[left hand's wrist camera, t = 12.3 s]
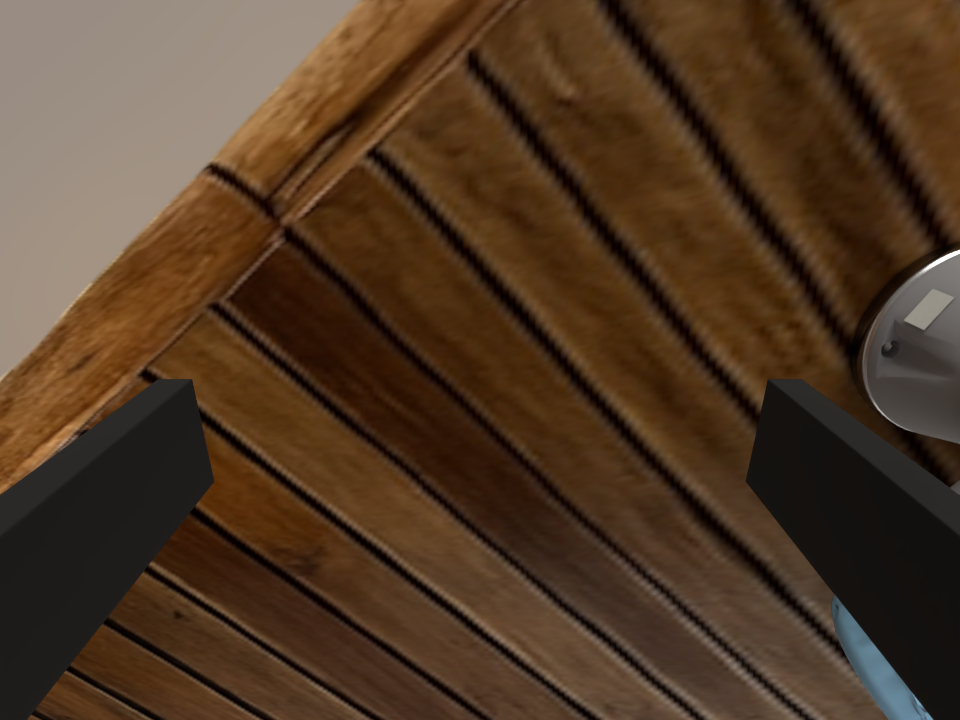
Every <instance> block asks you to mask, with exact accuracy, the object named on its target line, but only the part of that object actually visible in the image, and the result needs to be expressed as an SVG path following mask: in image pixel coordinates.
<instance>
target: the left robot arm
mask: <svg viewBox="0 0 960 720" xmlns="http://www.w3.org/2000/svg"><path fill="white" fill-rule="evenodd" d="M852 371H853V376H854V381H855V383H856V386H857V389H858V390H859V392H860V394H861V396H862V397H863V399H864V400H865V401H866V402H867V403H868V405H869V406H870V407H872V408H873V409H874V410H875V411H876V412H878V413H879V414H881V415H882V416H884V417H885V418H887V419H888V420H890V421H891V422H893V423H894V424H896V425H897V426H900V427H902V428H904V429H906V430H909V431H912V432H915V433H919V434H922V435H927V436H930V437H934V438H938V439H942V440H946V441H950V442H954V443H958V444H960V242H958V243H954V244H951V245H948V246H945V247H943V248H940V249H938V250H935V251H933V252H931V253H929V254H927V255H925V256H923V257H922V258H920V259H918V260H917V261H915V262H914V263H912V264H911V265H909V266H908V267H906V268H905V269H904V270H903V271H901V272H900V273H899V274H898V275H896V276H895V277H894V278H893V279H892V280H891V281H890V282H889V283H888V284H887V285H886V286H885V287H884V288H883V289H882V291H881V292H880V293H879V294H878V295H877V297H876V298H875V299H874V301H873V302H872V303H871V305H870V307H869V308H868V310H867V311H866V313H865V315H864V317H863V319H862V321H861V323H860V325H859V328H858V330H857V333H856V336H855V340H854V344H853V351H852ZM213 482H214V478H213V473H212V469H211V464H210V460H209V455H208V451H207V446H206V441H205V437H204V432H203V428H202V423H201V418H200V414H199V409H198V405H197V400H196V396H195V391H194V386H193V382H192V379H158V380H157V381H155V382H154V383H153V384H151V385H150V386H149V387H147V388H146V389H144V390H143V391H142V392H140V393H139V394H138V395H136V396H135V397H134V398H132V399H131V400H129V401H128V402H127V403H125V404H124V405H123V406H121V407H120V408H118V409H117V410H116V411H114V412H113V413H112V414H110V415H109V416H108V417H106V418H105V419H103V420H102V421H101V422H99V423H98V424H97V425H95V426H94V427H93V428H91V429H90V430H88V431H87V432H86V433H84V434H83V435H82V436H80V437H79V438H78V439H76V440H75V441H73V442H72V443H71V444H69V445H68V446H67V447H65V448H64V449H63V450H61V451H60V452H58V453H57V454H56V455H54V456H53V457H52V458H50V459H49V460H48V461H46V462H45V463H43V464H42V465H41V466H39V467H38V468H37V469H35V470H34V471H33V472H31V473H30V474H28V475H27V476H26V477H24V478H23V479H22V480H20V481H19V482H18V483H16V484H15V485H13V486H12V487H11V488H9V489H8V490H7V491H5V492H4V493H3V494H1V495H0V720H27V719H28V718H29V716H30V715H31V714H32V712H33V711H34V710H35V709H36V707H37V706H38V705H39V704H40V702H41V701H42V700H43V698H44V697H45V696H46V695H47V693H48V692H49V691H50V690H51V688H52V687H53V686H54V684H55V683H56V682H57V681H58V679H59V678H60V677H61V676H62V674H63V673H64V672H65V670H66V669H67V668H68V667H69V665H70V664H71V663H72V662H73V660H74V659H75V658H76V656H77V655H78V654H79V653H80V651H81V650H82V649H83V648H84V646H85V645H86V644H87V643H88V641H89V640H90V639H91V637H92V636H93V635H94V634H95V632H96V631H97V630H98V629H99V627H100V626H101V625H102V623H103V622H104V621H105V620H106V618H107V617H108V616H109V615H110V613H111V612H112V611H113V609H114V608H115V607H116V606H117V604H118V603H119V602H120V601H121V599H122V598H123V597H124V595H125V594H126V593H127V592H128V590H129V589H130V588H131V587H132V585H133V584H134V583H135V581H136V580H137V579H138V578H139V576H140V575H141V574H142V573H143V571H144V570H145V569H146V568H147V566H148V565H149V564H150V562H151V561H152V560H153V559H154V557H155V556H156V555H157V554H158V552H159V551H160V550H161V548H162V547H163V546H164V545H165V543H166V542H167V541H168V540H169V538H170V537H171V536H172V534H173V533H174V532H175V531H176V529H177V528H178V527H179V526H180V524H181V523H182V522H183V520H184V519H185V518H186V517H187V515H188V514H189V513H190V512H191V510H192V509H193V508H194V506H195V505H196V504H197V503H198V501H199V500H200V499H201V498H202V496H203V495H204V494H205V493H206V491H207V490H208V489H209V487H210V486H211V485H212V484H213ZM746 482H747V484H748V485H749V486H750V487H751V489H752V490H753V491H754V493H755V494H756V495H757V496H758V498H759V499H760V500H761V501H762V503H763V504H764V505H765V506H766V508H767V509H768V510H769V512H770V513H771V514H772V515H773V517H774V518H775V519H776V520H777V522H778V523H779V524H780V526H781V527H782V528H783V529H784V531H785V532H786V533H787V534H788V536H789V537H790V538H791V540H792V541H793V542H794V543H795V545H796V546H797V547H798V548H799V550H800V551H801V552H802V554H803V555H804V556H805V557H806V559H807V560H808V561H809V562H810V564H811V565H812V566H813V568H814V569H815V570H816V571H817V573H818V574H819V575H820V576H821V578H822V579H823V580H824V581H825V583H826V584H827V585H828V587H829V588H830V589H831V590H832V592H833V593H834V596H833V599H832V606H831V609H832V618H833V621H834V626H835V631H836V634H837V636H838V639H839V641H840V644H841V646H842V648H843V650H844V652H845V654H846V656H847V658H848V660H849V662H850V663H851V665H852V667H853V668H854V670H855V672H856V674H857V675H858V677H859V678H860V680H861V681H862V683H863V685H864V686H865V688H866V689H867V691H868V692H869V693H870V695H871V696H872V698H873V699H874V701H875V702H876V703H877V705H878V706H879V707H880V709H881V710H882V711H883V713H884V714H885V715H886V717H887V718H888V719H889V720H960V479H959V480H958V481H957V482H956V483H955V484H954V485H953V486H951V487H950V488H949V487H948V486H947V485H945V484H944V483H942V482H941V481H940V480H938V479H937V478H936V477H934V476H933V475H932V474H930V473H929V472H927V471H926V470H925V469H923V468H922V467H921V466H919V465H918V464H917V463H915V462H914V461H912V460H911V459H910V458H908V457H907V456H906V455H904V454H903V453H902V452H900V451H899V450H897V449H896V448H895V447H893V446H892V445H891V444H889V443H888V442H887V441H885V440H884V439H882V438H881V437H880V436H878V435H877V434H876V433H874V432H873V431H872V430H870V429H869V428H867V427H866V426H865V425H863V424H862V423H861V422H859V421H858V420H857V419H855V418H854V417H852V416H851V415H850V414H848V413H847V412H846V411H844V410H843V409H842V408H840V407H839V406H837V405H836V404H835V403H833V402H832V401H831V400H829V399H828V398H826V397H825V396H824V395H822V394H821V393H820V392H818V391H817V390H816V389H814V388H813V387H811V386H810V385H809V384H807V383H806V382H805V381H803V380H802V379H768V382H767V386H766V391H765V396H764V400H763V405H762V409H761V414H760V418H759V423H758V428H757V432H756V437H755V441H754V446H753V451H752V455H751V460H750V464H749V469H748V473H747V478H746Z"/></svg>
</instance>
